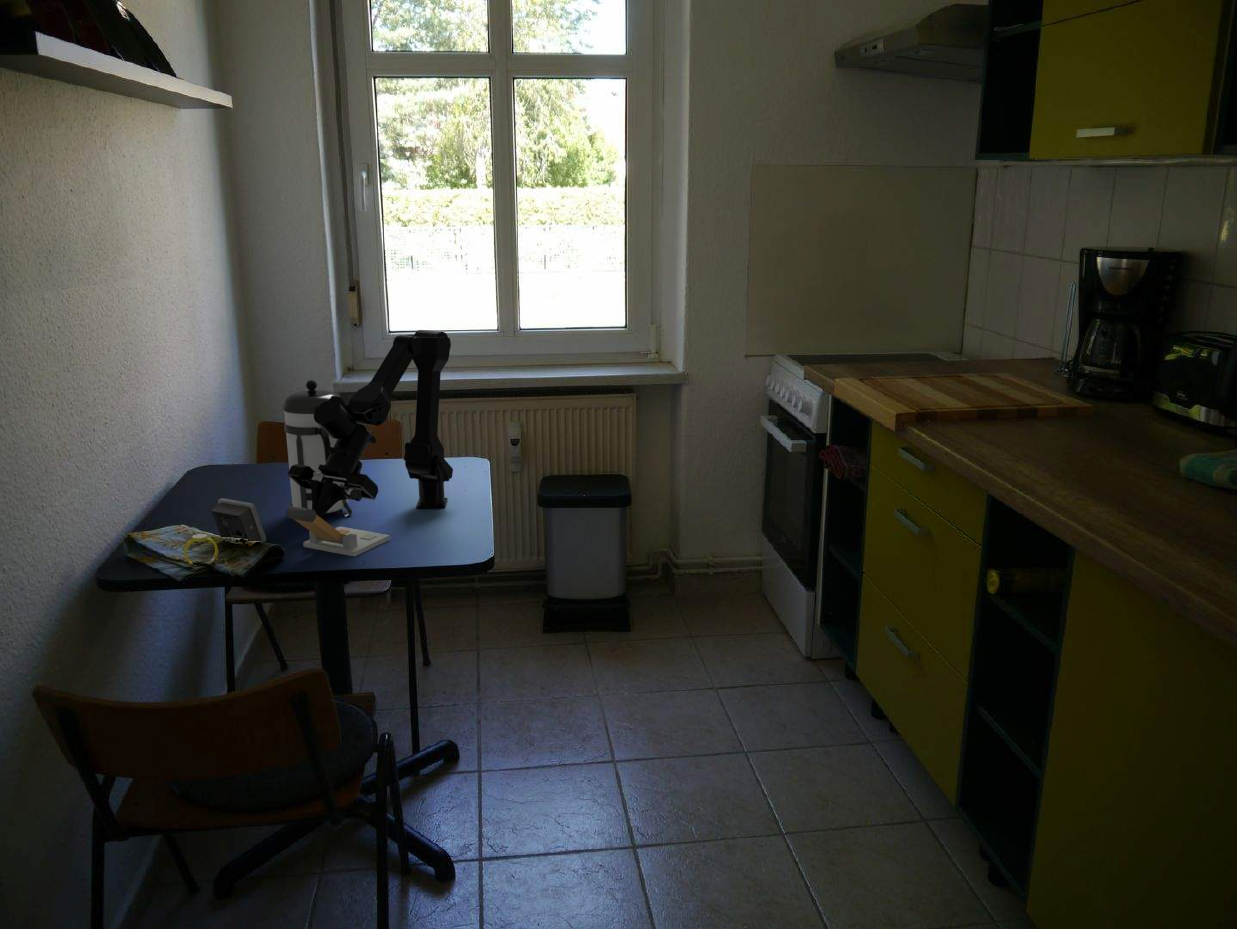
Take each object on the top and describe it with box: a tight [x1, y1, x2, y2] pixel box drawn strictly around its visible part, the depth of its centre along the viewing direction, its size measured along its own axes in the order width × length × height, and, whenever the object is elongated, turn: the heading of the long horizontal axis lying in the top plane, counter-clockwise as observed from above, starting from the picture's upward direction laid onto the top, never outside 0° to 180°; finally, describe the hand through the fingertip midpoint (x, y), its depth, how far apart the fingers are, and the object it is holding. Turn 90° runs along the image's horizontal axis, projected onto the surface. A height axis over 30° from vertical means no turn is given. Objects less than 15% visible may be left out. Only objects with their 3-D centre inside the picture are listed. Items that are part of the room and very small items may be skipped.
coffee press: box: [281, 379, 353, 518], centre depth 224 cm, size 17×16×30 cm
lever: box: [285, 505, 346, 544], centre depth 201 cm, size 2×6×13 cm
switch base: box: [302, 526, 391, 557], centre depth 210 cm, size 11×13×4 cm
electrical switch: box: [210, 497, 267, 543], centre depth 209 cm, size 9×5×9 cm, turn 65°
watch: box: [183, 533, 219, 566], centre depth 197 cm, size 6×3×6 cm, turn 120°
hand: (314, 519), depth 200 cm, fingers closed, pressing on lever
